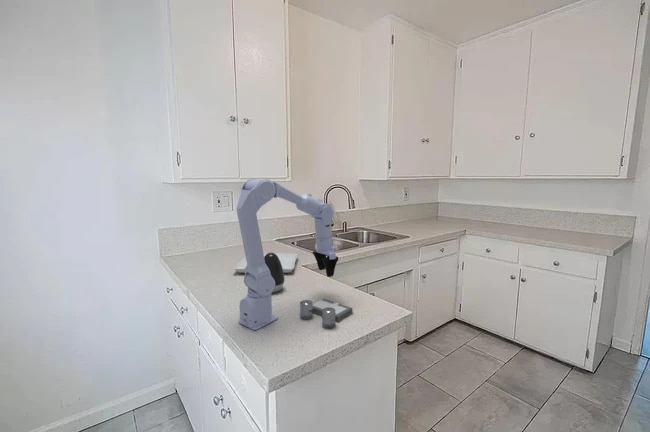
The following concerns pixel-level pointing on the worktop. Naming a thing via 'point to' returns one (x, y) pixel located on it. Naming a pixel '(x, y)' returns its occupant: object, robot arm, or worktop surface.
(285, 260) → the square plate
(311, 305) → the cylinder
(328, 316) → the cylinder
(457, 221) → the worktop surface
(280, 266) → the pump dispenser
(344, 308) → the scale
